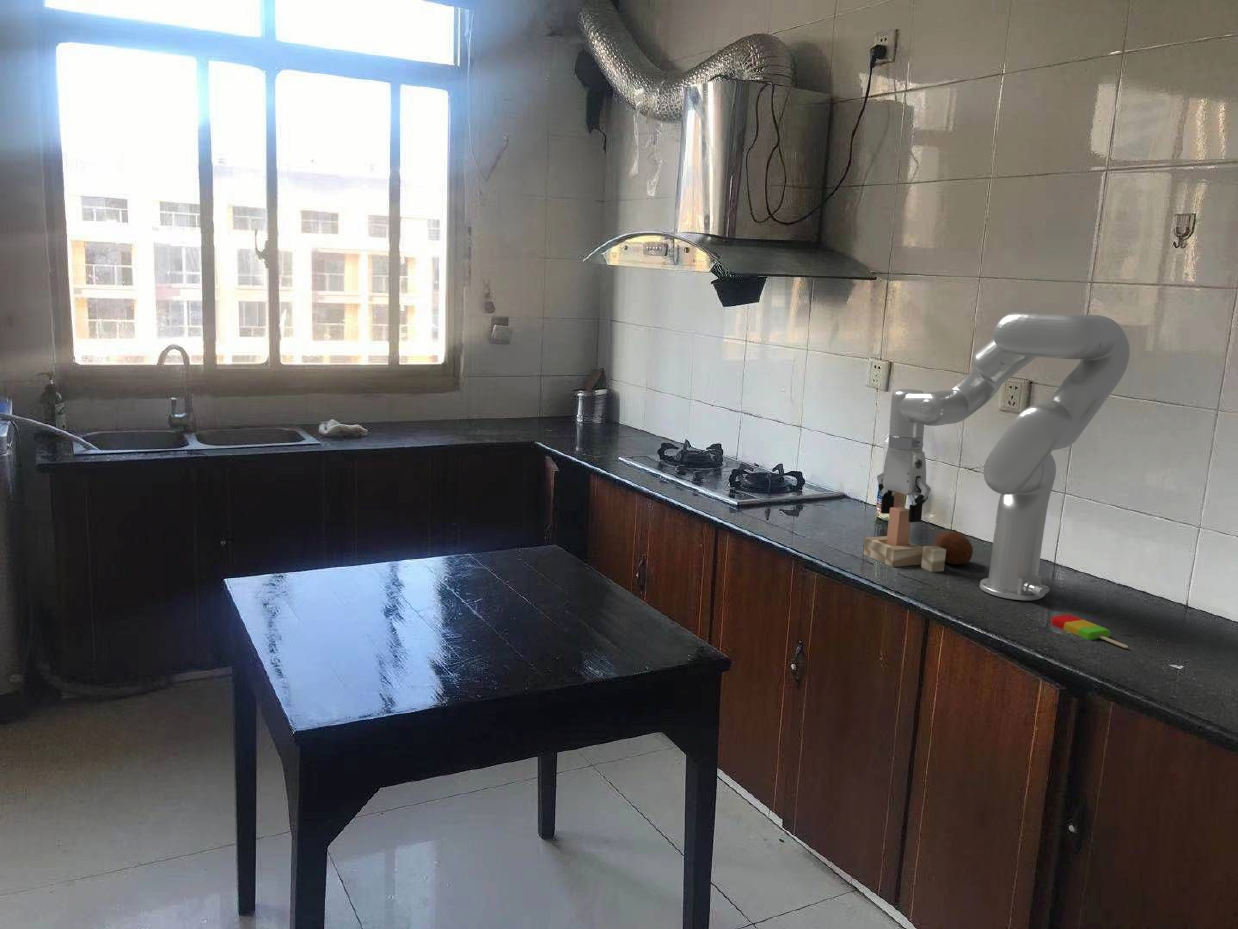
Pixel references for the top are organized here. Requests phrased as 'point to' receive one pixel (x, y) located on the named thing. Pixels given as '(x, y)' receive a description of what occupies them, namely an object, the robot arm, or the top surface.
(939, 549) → the short peg
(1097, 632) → the popsicle
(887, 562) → the slot block
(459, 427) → the top surface
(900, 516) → the long peg
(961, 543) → the brown oval lump
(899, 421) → the robot arm
